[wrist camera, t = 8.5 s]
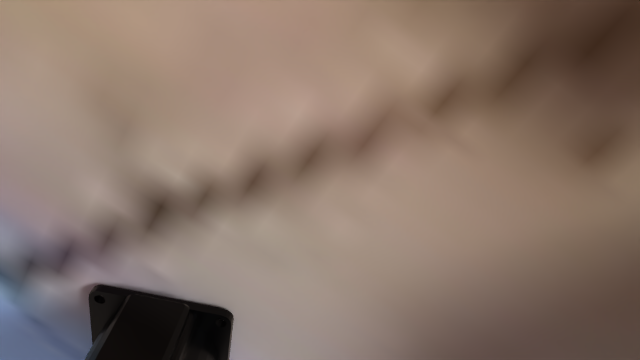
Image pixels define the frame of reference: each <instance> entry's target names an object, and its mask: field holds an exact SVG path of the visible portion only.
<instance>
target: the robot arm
mask: <svg viewBox="0 0 640 360" xmlns="http://www.w3.org/2000/svg"><path fill="white" fill-rule="evenodd" d="M89 306H90V318H91V330H92V342H93V346H92V347H91V349H90V351H89V353H88V354H87V356H86V358H85V360H229V355H230V347H231V338H232V329H233V320H234V318H233V315H232V313H231V312H229V311H228V310H225V309H222V308H216V307H211V306H206V305H201V304H196V303H191V302H186V301H181V300H176V299H171V298H166V297H160V296H155V295H150V294H145V293H140V292H135V291H130V290H125V289H120V288H115V287H110V286H104V285H97V286H95V287H94V288H93V290H92V291H91V293H90V294H89ZM220 319H222V320H224V321H222V320H220Z"/></svg>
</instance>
